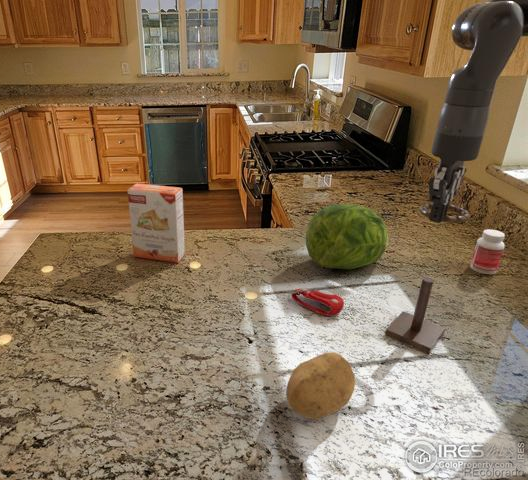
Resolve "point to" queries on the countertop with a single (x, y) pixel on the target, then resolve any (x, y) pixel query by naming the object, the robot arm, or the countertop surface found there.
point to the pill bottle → (488, 252)
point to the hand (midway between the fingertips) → (437, 219)
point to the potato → (320, 386)
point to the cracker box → (157, 222)
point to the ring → (449, 219)
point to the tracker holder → (319, 300)
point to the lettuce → (346, 236)
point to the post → (417, 324)
